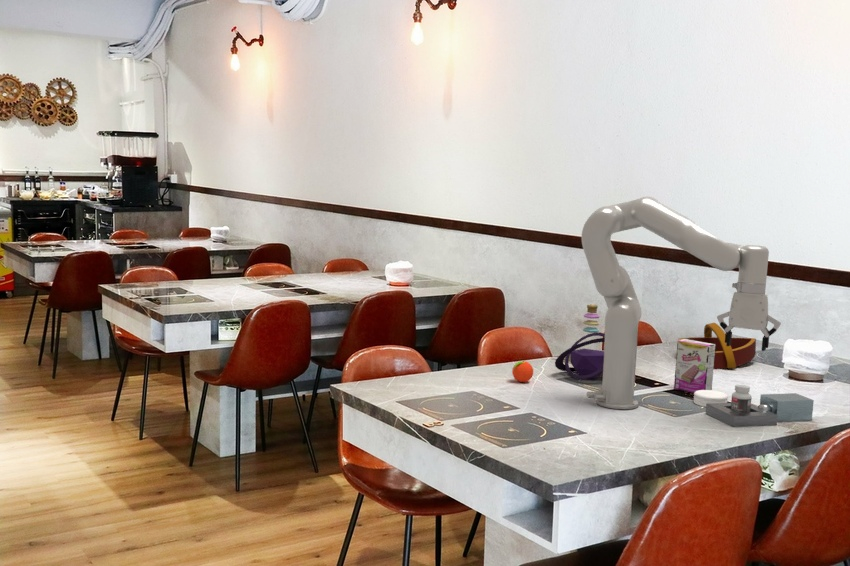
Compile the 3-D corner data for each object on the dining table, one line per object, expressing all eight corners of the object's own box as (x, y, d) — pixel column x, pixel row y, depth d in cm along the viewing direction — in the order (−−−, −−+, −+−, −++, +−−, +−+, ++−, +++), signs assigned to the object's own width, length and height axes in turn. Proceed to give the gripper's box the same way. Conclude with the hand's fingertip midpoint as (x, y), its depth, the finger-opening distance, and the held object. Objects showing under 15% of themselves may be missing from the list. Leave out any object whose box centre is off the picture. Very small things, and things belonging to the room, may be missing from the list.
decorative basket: (673, 355, 358) (670, 319, 356) (748, 349, 354) (745, 312, 352) (685, 375, 325) (682, 335, 323) (768, 369, 320) (765, 328, 319)
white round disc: (686, 401, 276) (687, 390, 275) (712, 399, 280) (713, 388, 279) (708, 409, 267) (709, 398, 266) (734, 407, 270) (735, 396, 270)
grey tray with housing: (733, 426, 248) (735, 406, 247) (705, 413, 262) (707, 393, 261) (818, 423, 255) (820, 402, 255) (787, 410, 269) (789, 390, 268)
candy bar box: (673, 389, 290) (676, 340, 288) (680, 387, 294) (683, 338, 292) (705, 396, 283) (709, 345, 281) (712, 393, 286) (716, 343, 284)
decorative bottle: (601, 369, 317) (605, 299, 314) (633, 382, 298) (638, 309, 294) (545, 371, 310) (548, 300, 307) (574, 386, 290) (578, 310, 287)
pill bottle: (727, 419, 256) (730, 386, 255) (732, 415, 260) (735, 382, 259) (746, 422, 253) (749, 389, 252) (751, 418, 257) (754, 385, 256)
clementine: (520, 385, 288) (521, 364, 287) (505, 381, 293) (506, 360, 292) (537, 382, 293) (538, 361, 292) (521, 378, 298) (522, 357, 297)
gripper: (717, 287, 254) (712, 345, 256) (781, 293, 245) (775, 354, 247) (722, 284, 260) (717, 342, 262) (785, 290, 252) (780, 350, 254)
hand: (745, 347), depth 255 cm, fingers open, 9 cm apart
